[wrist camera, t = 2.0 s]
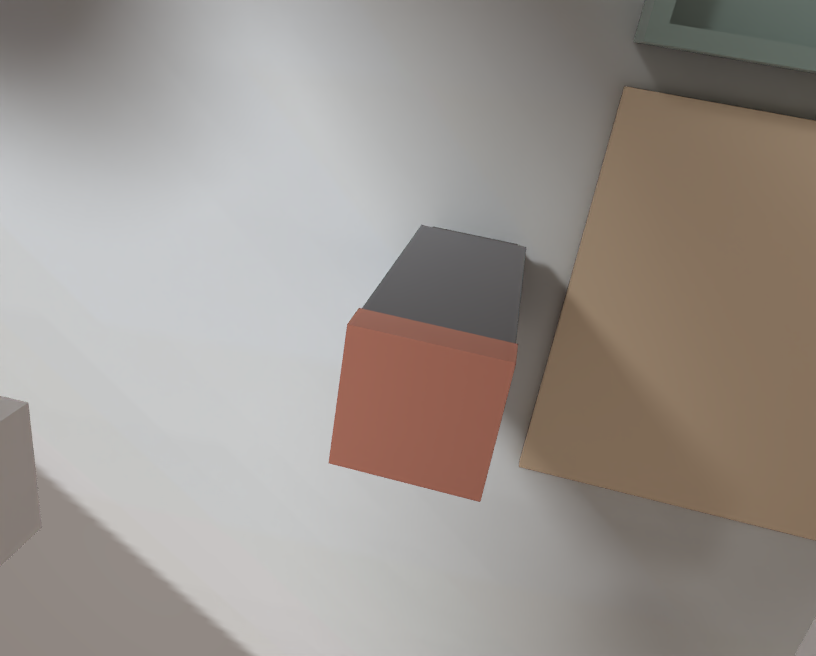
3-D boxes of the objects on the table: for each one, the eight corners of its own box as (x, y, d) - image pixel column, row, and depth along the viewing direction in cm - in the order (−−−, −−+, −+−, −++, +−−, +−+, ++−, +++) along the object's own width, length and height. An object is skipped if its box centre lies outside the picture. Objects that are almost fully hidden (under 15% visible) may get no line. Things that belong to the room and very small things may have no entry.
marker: (409, 310, 28) (328, 463, 18) (425, 216, 26) (347, 324, 16) (505, 332, 27) (479, 501, 17) (528, 237, 26) (515, 363, 15)
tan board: (519, 461, 30) (518, 466, 29) (624, 85, 23) (625, 86, 23) (846, 542, 28) (850, 548, 28) (1059, 164, 21) (1068, 166, 21)
